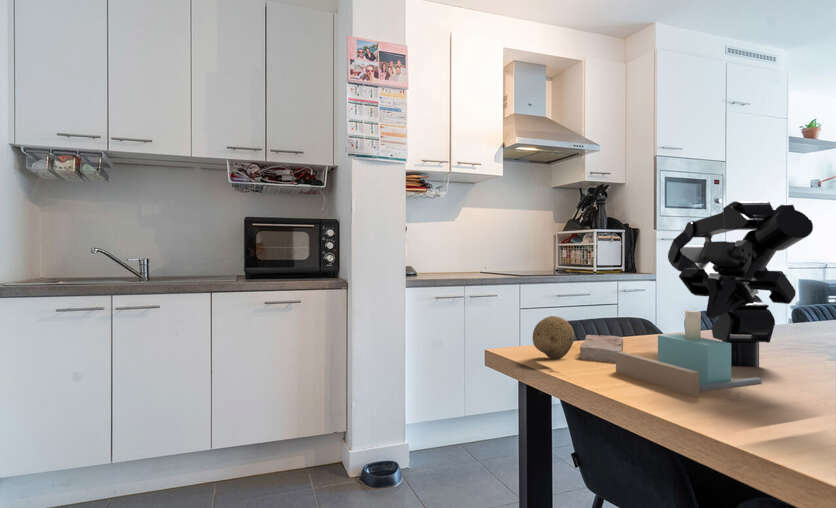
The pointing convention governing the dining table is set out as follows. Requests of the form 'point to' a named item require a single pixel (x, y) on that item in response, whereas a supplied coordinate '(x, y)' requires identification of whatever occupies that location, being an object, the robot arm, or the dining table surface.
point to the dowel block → (696, 351)
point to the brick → (601, 347)
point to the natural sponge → (553, 337)
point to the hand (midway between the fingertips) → (709, 316)
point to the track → (670, 375)
